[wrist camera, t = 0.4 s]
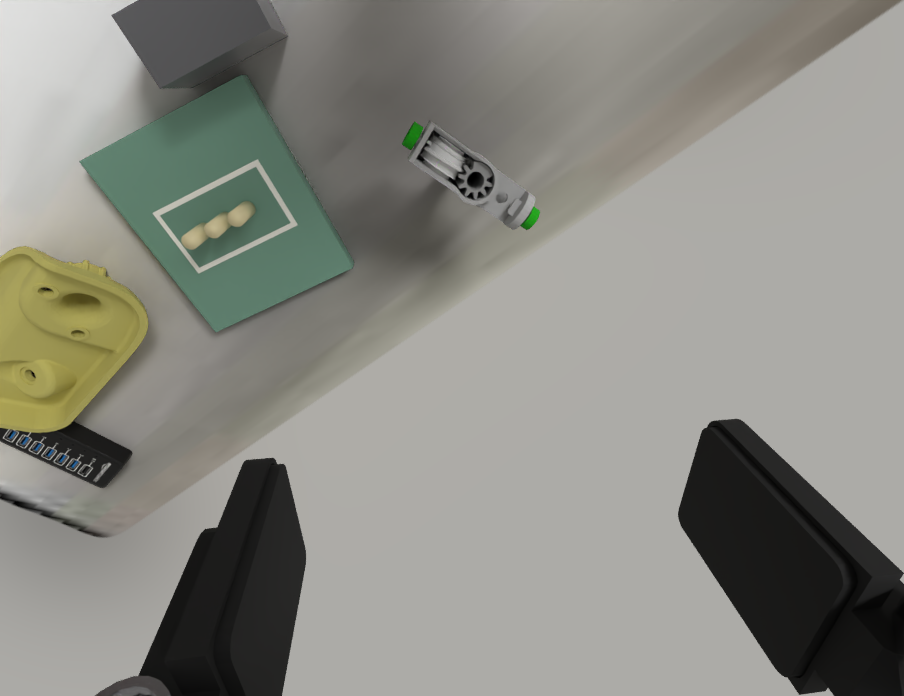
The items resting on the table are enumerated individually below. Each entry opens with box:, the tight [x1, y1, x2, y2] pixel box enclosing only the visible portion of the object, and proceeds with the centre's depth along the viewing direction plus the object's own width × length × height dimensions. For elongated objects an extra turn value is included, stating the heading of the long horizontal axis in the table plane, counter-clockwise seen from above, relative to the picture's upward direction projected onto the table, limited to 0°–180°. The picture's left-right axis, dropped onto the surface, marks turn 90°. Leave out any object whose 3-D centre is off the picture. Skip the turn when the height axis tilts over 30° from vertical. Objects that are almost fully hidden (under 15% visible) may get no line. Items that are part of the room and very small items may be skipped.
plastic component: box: [0, 246, 148, 433], centre depth 41 cm, size 20×7×10 cm
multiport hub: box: [0, 421, 132, 488], centre depth 48 cm, size 4×11×2 cm, turn 45°
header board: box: [79, 75, 354, 332], centre depth 38 cm, size 16×14×5 cm
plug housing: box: [112, 0, 288, 88], centre depth 32 cm, size 4×8×6 cm, turn 114°
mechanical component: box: [402, 121, 540, 230], centre depth 36 cm, size 3×10×10 cm, turn 56°
